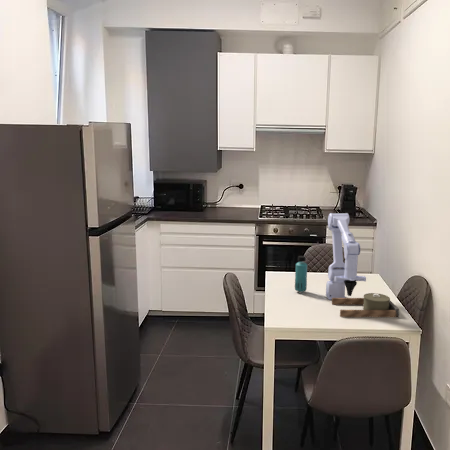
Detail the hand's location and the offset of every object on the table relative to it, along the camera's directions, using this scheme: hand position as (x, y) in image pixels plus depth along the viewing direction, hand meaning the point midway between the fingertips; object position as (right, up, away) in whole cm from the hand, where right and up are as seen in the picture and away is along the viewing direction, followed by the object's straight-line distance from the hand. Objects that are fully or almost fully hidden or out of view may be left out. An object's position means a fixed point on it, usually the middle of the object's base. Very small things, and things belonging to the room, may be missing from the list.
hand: (349, 295), depth 217 cm
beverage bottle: (-19, -3, +27) cm, 33 cm away
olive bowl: (+13, -8, +1) cm, 15 cm away
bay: (+7, -7, +1) cm, 10 cm away
